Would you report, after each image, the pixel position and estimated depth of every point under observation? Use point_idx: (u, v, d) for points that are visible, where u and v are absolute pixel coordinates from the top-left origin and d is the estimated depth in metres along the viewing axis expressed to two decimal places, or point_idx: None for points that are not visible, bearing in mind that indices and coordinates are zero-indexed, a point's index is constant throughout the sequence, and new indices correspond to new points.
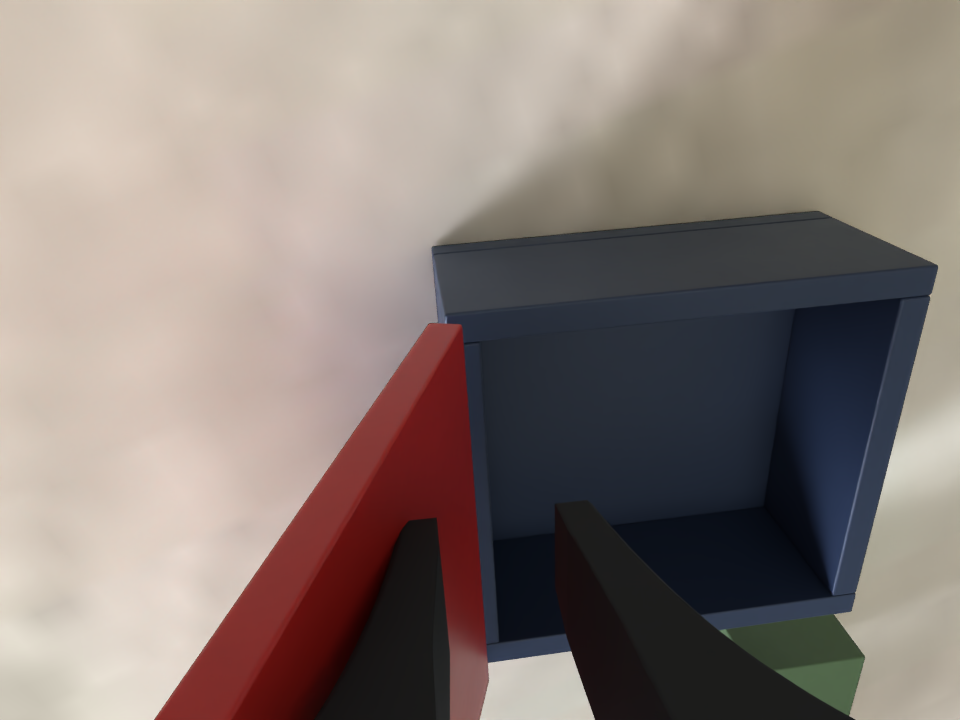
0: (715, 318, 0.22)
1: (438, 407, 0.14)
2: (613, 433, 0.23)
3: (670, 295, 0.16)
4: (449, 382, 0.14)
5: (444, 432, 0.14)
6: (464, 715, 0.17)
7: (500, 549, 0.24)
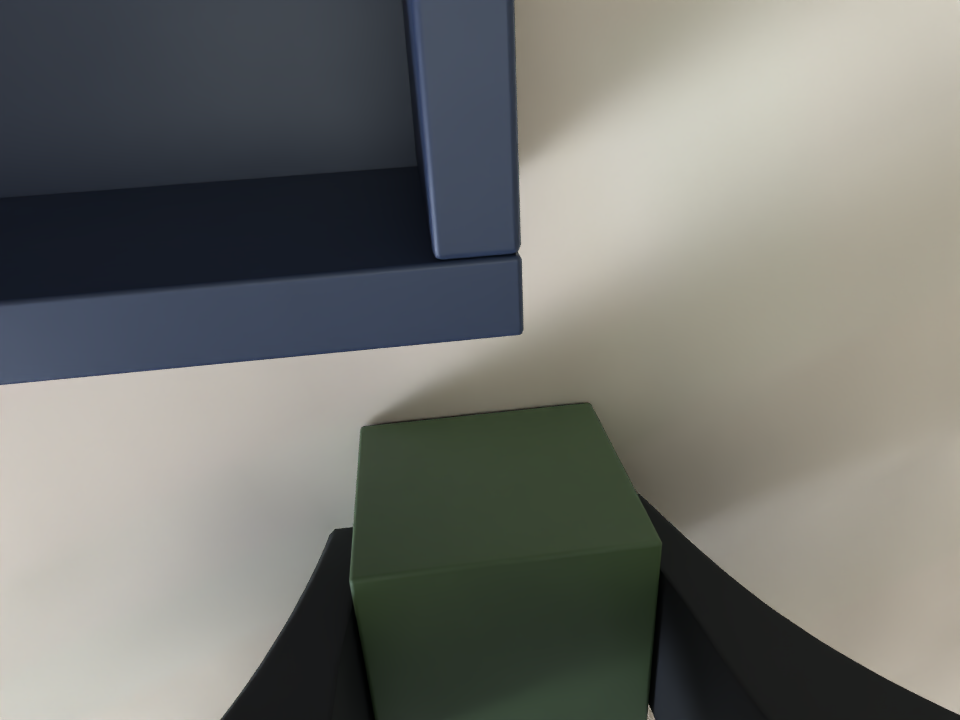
0: None
1: None
2: None
3: None
4: None
5: None
6: None
7: None
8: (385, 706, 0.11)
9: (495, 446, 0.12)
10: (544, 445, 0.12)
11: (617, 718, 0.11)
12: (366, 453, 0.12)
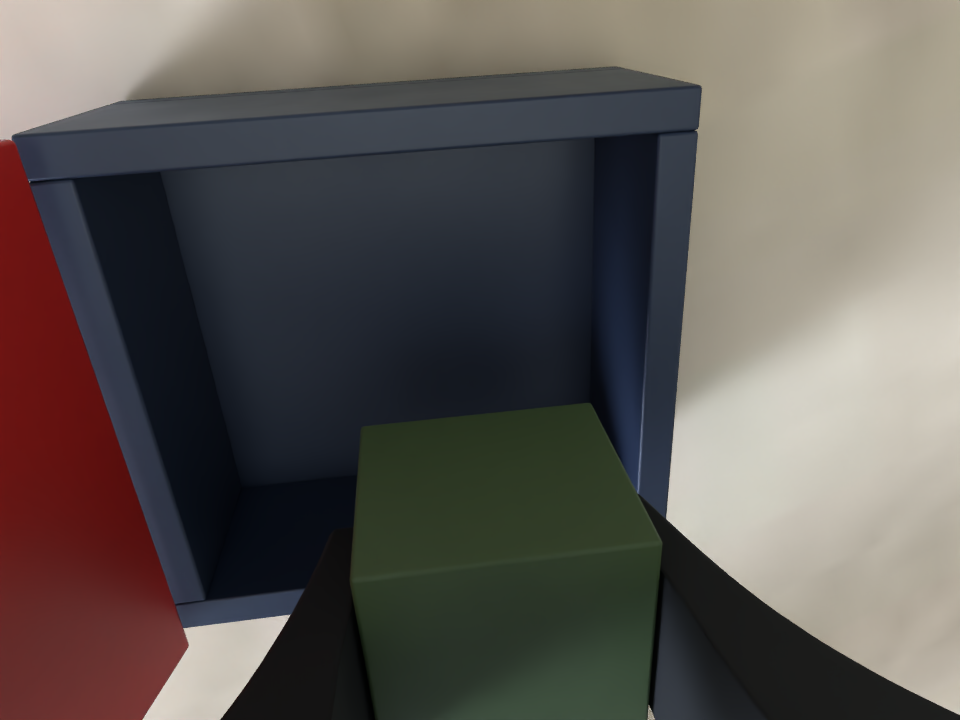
0: (493, 203, 0.18)
1: None
2: (386, 351, 0.19)
3: (329, 117, 0.12)
4: None
5: None
6: (97, 685, 0.13)
7: (260, 495, 0.20)
8: (385, 706, 0.11)
9: (495, 446, 0.12)
10: (545, 444, 0.12)
11: (617, 718, 0.11)
12: (366, 453, 0.12)
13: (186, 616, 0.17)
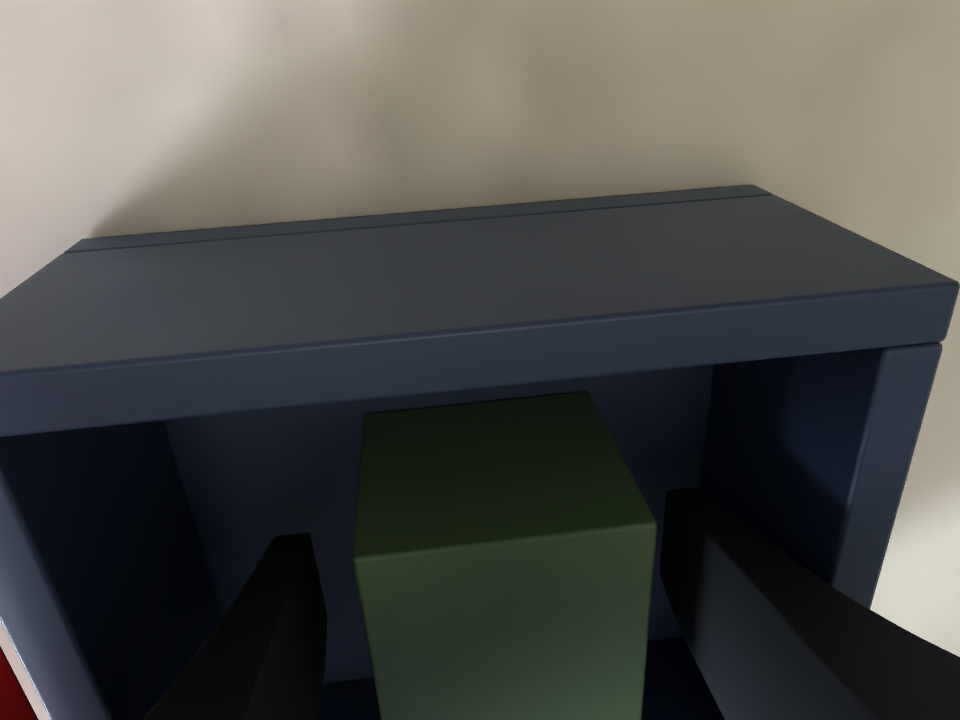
0: None
1: None
2: None
3: (391, 343, 0.08)
4: None
5: None
6: None
7: None
8: (387, 684, 0.11)
9: (495, 433, 0.12)
10: (543, 431, 0.12)
11: (614, 697, 0.12)
12: (368, 440, 0.12)
13: None
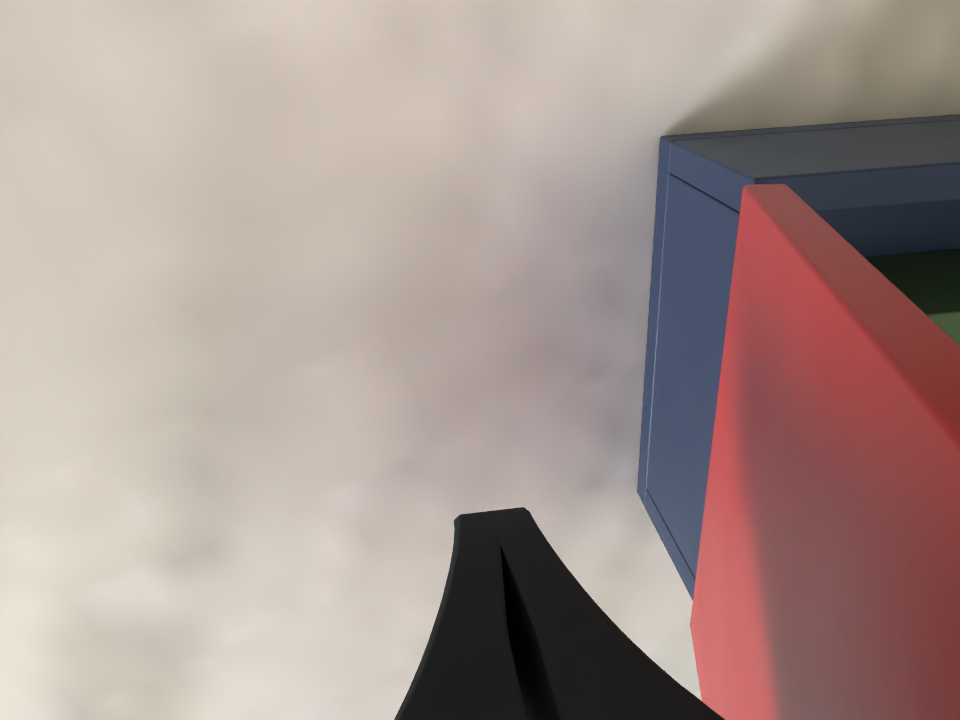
0: None
1: None
2: None
3: None
4: None
5: None
6: None
7: None
8: None
9: (923, 267, 0.19)
10: (956, 266, 0.18)
11: None
12: None
13: None
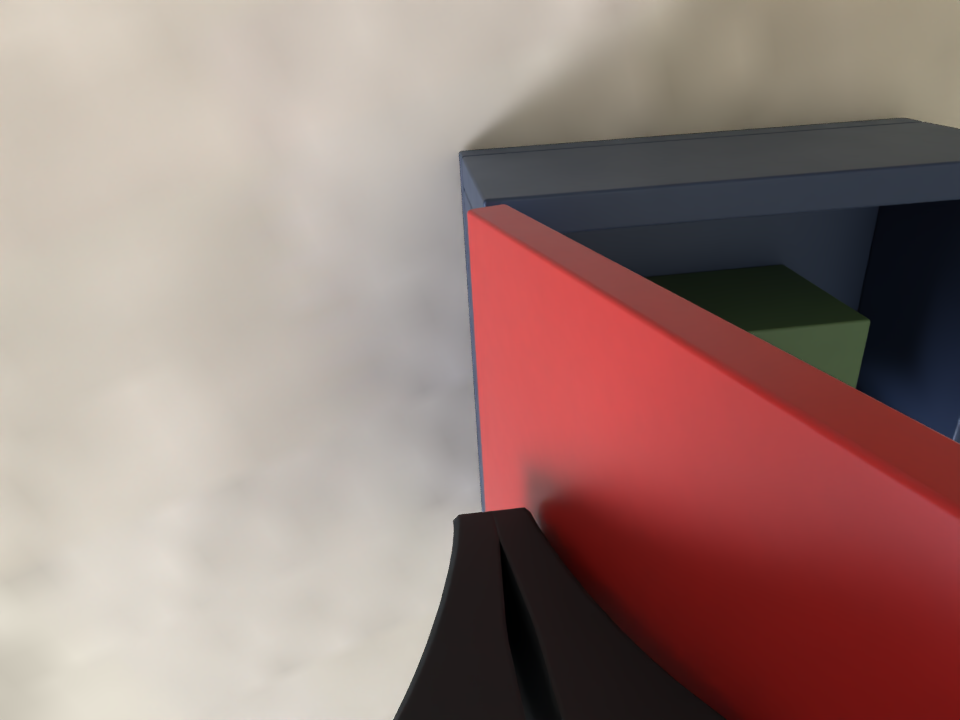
0: (783, 243, 0.19)
1: None
2: None
3: (755, 182, 0.13)
4: None
5: None
6: None
7: None
8: None
9: (732, 284, 0.18)
10: (766, 283, 0.18)
11: None
12: None
13: None
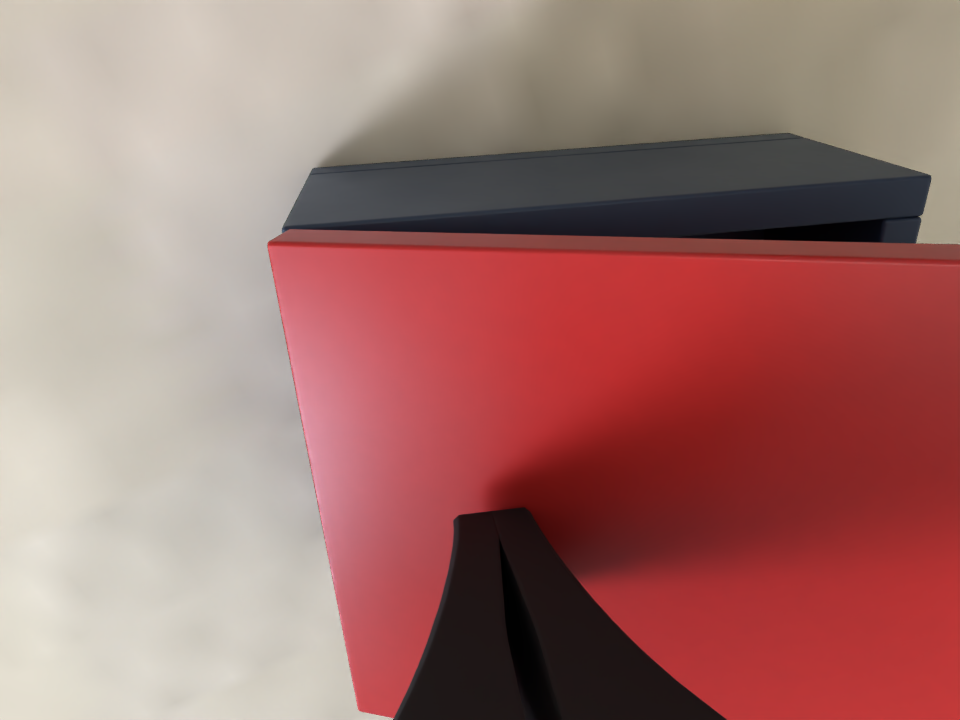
0: None
1: None
2: None
3: (581, 208, 0.12)
4: None
5: None
6: None
7: None
8: None
9: None
10: None
11: None
12: None
13: None
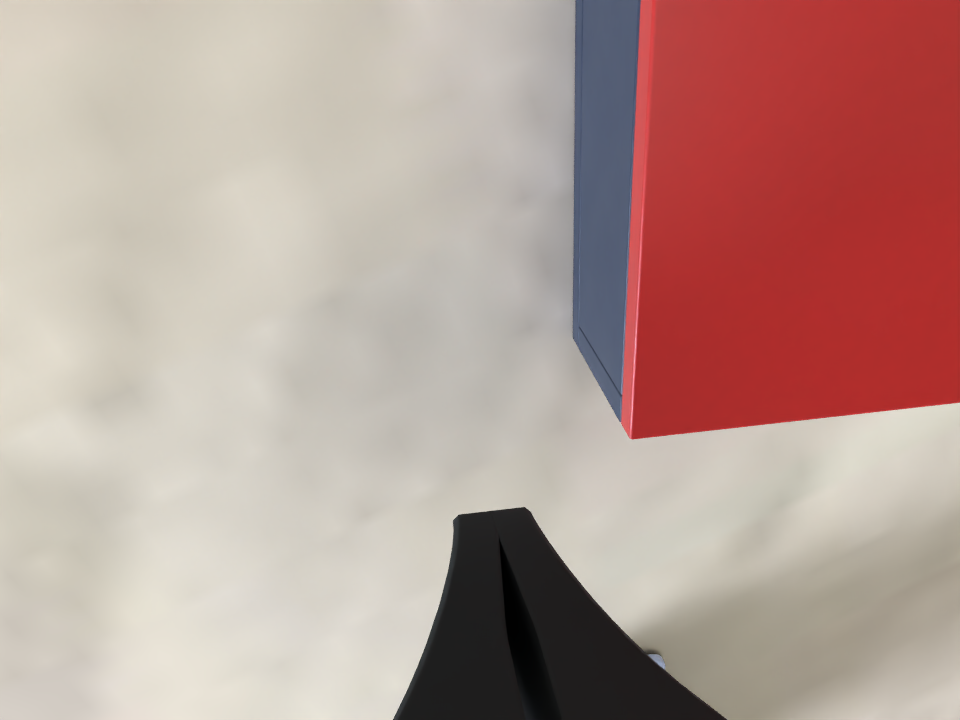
0: None
1: None
2: None
3: None
4: None
5: None
6: None
7: None
8: None
9: None
10: None
11: None
12: None
13: None
